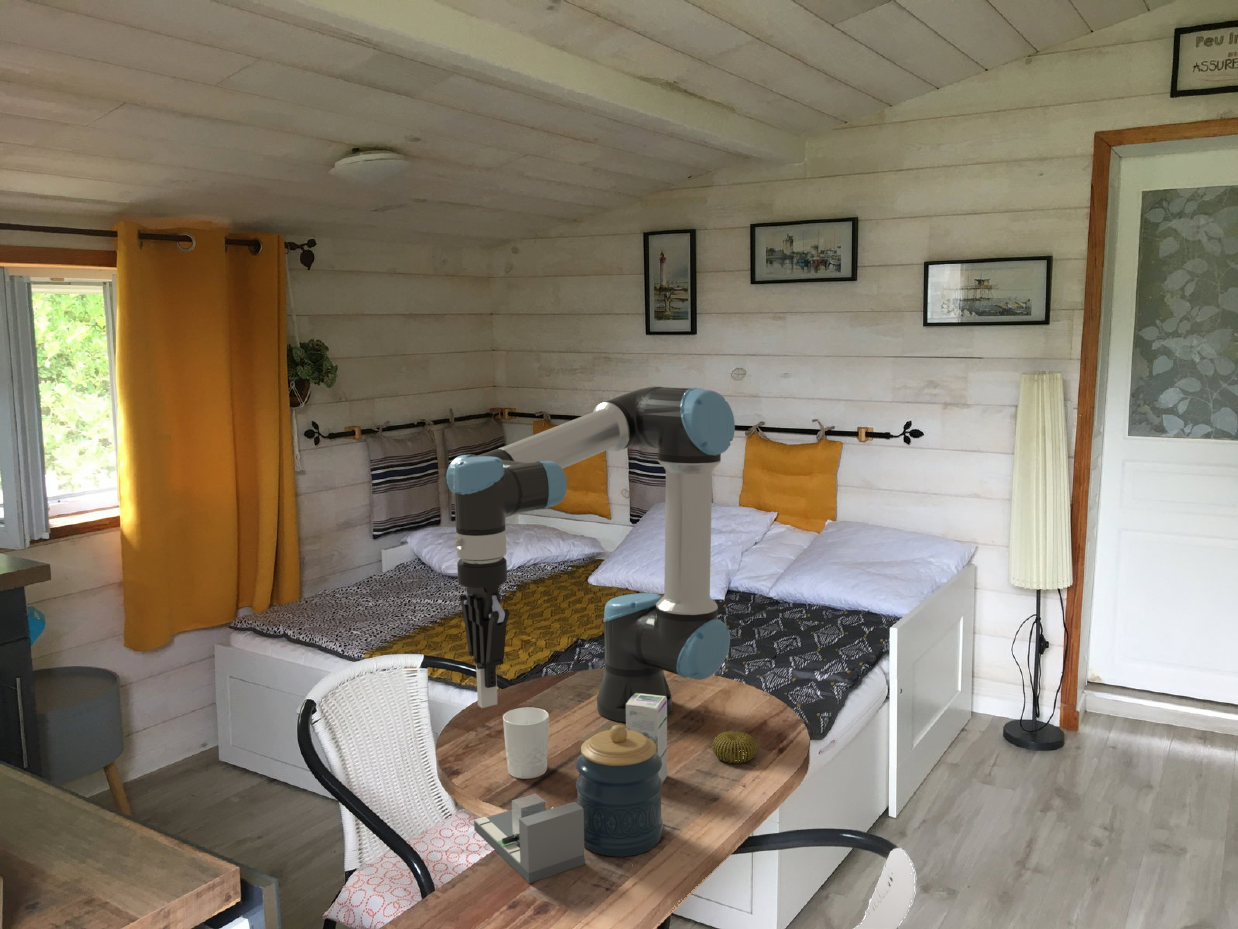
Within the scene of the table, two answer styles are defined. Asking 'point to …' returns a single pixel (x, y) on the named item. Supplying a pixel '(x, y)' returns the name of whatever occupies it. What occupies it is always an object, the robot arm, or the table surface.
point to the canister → (620, 792)
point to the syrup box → (650, 722)
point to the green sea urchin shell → (734, 746)
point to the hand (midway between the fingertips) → (487, 704)
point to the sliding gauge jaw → (523, 813)
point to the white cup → (526, 741)
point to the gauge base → (538, 840)
